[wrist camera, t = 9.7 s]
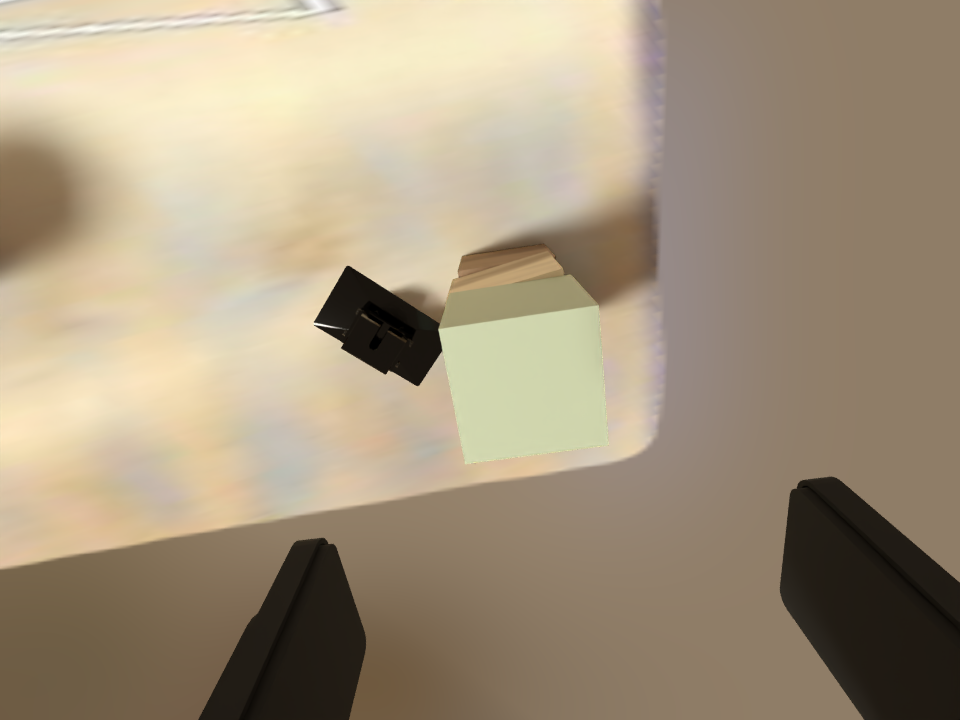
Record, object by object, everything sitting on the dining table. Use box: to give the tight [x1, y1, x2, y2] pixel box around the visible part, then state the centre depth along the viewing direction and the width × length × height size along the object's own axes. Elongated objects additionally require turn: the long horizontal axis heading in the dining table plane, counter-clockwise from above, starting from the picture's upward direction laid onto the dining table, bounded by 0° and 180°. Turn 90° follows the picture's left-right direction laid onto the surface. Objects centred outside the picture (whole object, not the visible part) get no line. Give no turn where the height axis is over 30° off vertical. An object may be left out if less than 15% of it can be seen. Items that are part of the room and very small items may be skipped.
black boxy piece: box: [314, 266, 442, 386], centre depth 35 cm, size 12×7×5 cm, turn 56°
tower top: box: [445, 251, 564, 304], centre depth 27 cm, size 6×6×6 cm
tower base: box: [458, 244, 556, 278], centre depth 33 cm, size 6×6×6 cm
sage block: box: [438, 274, 609, 464], centre depth 21 cm, size 6×6×6 cm
